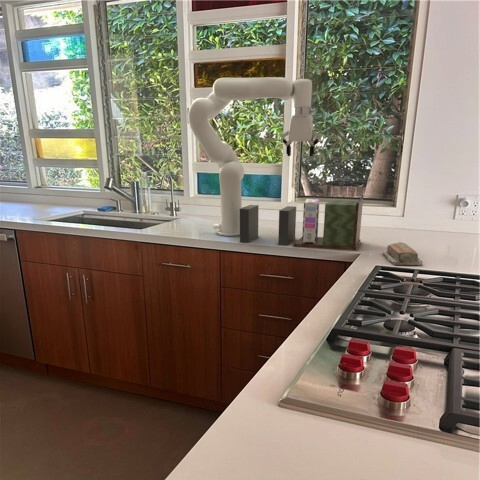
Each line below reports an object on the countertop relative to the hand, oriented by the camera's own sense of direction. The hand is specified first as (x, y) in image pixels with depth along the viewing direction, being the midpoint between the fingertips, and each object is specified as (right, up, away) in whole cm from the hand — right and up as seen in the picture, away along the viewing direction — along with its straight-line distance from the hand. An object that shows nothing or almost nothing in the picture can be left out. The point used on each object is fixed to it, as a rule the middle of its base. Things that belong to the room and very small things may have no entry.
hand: (299, 156), depth 199 cm
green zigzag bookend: (+11, -39, -6) cm, 41 cm away
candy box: (+4, -37, -4) cm, 38 cm away
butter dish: (+32, -49, -32) cm, 67 cm away
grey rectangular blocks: (-14, -36, +2) cm, 39 cm away
